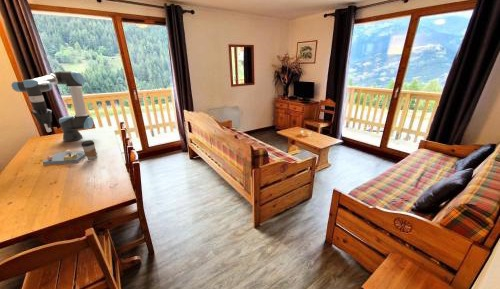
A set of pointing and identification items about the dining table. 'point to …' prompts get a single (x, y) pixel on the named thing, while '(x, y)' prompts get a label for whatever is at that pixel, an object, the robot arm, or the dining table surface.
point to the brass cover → (70, 157)
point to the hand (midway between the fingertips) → (49, 131)
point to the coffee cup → (89, 150)
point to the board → (60, 160)
